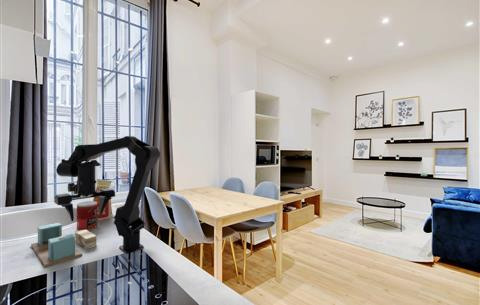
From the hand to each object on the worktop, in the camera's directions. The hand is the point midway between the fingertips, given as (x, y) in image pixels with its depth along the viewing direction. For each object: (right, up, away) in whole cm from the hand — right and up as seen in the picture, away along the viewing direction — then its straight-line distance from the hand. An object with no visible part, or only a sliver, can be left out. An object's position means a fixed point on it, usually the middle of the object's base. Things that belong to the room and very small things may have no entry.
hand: (86, 217), depth 88 cm
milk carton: (-12, -8, +30) cm, 33 cm away
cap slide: (-1, -10, -11) cm, 15 cm away
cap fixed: (-13, -9, -1) cm, 16 cm away
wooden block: (0, -10, 0) cm, 10 cm away
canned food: (-11, -9, +16) cm, 21 cm away
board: (-7, -10, -6) cm, 14 cm away
